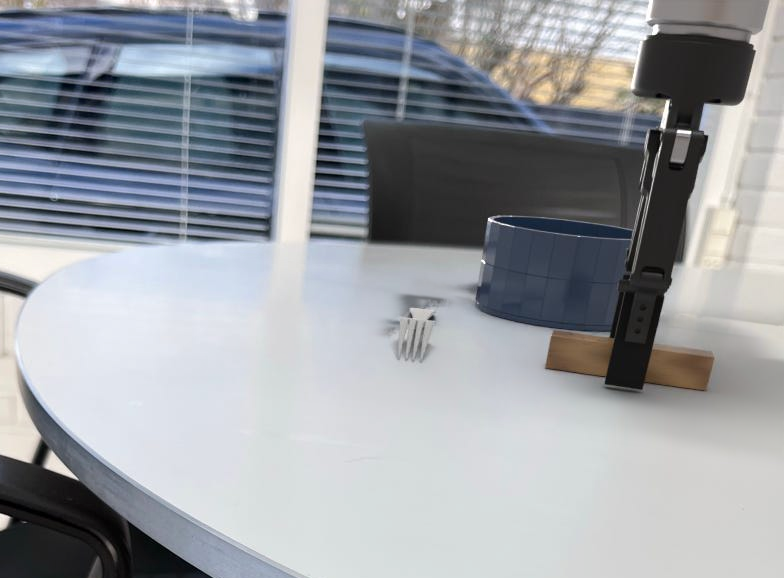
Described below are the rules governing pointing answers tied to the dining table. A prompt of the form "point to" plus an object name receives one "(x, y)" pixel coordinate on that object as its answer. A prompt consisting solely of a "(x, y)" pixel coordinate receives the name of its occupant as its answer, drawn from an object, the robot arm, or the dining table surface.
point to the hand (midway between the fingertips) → (622, 372)
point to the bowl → (552, 271)
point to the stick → (663, 366)
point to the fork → (418, 323)
